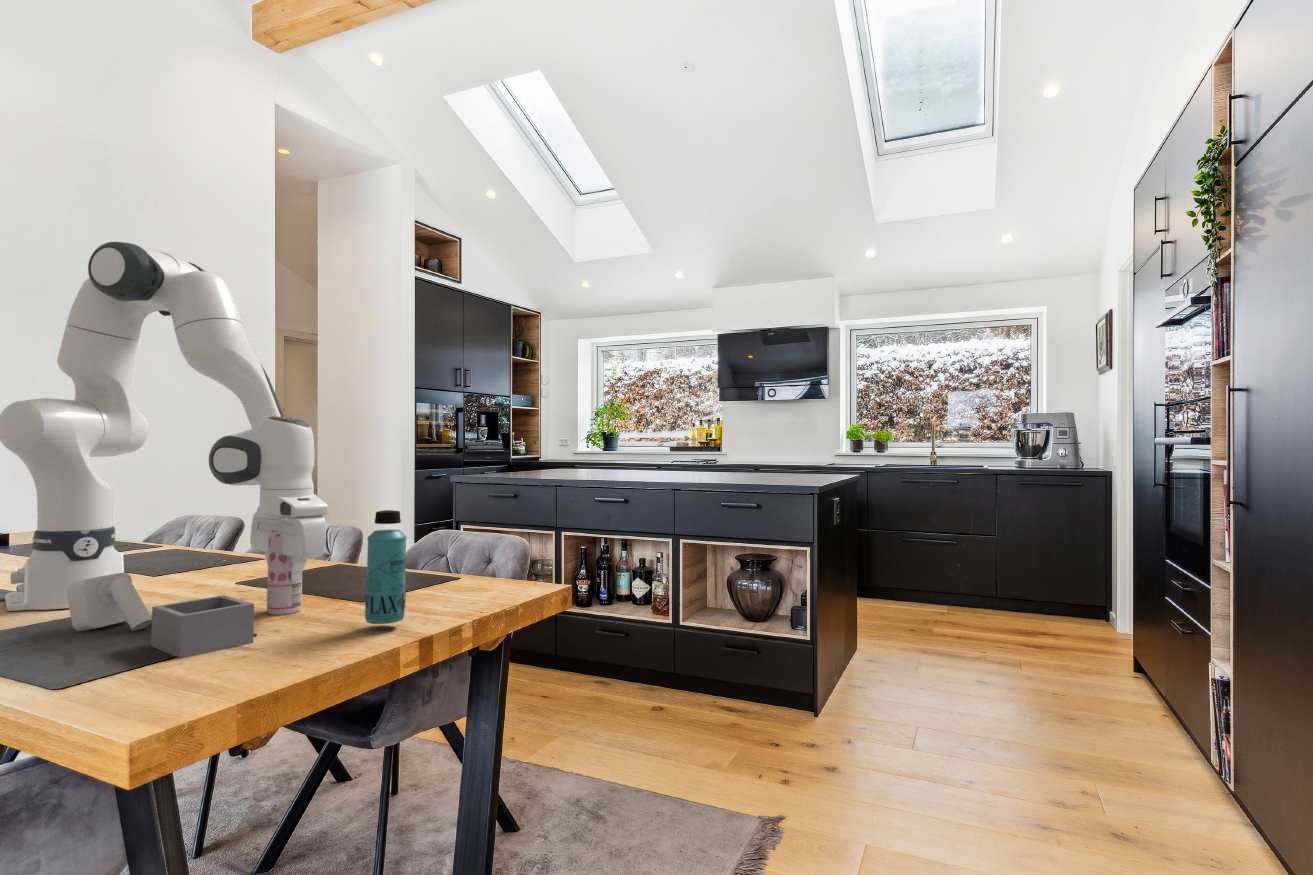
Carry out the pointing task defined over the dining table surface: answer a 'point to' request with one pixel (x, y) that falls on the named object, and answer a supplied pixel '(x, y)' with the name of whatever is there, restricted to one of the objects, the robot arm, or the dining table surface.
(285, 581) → the beverage can
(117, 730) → the dining table surface
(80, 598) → the wall hook
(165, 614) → the open box
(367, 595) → the beverage bottle
